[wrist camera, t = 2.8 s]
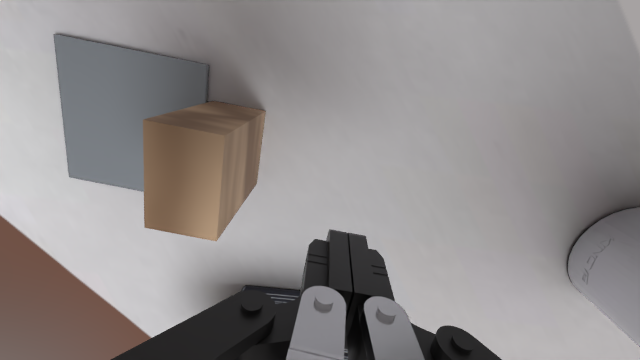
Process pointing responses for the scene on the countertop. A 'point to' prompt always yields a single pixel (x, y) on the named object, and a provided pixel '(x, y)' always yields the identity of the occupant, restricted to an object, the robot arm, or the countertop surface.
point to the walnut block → (200, 167)
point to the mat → (118, 105)
